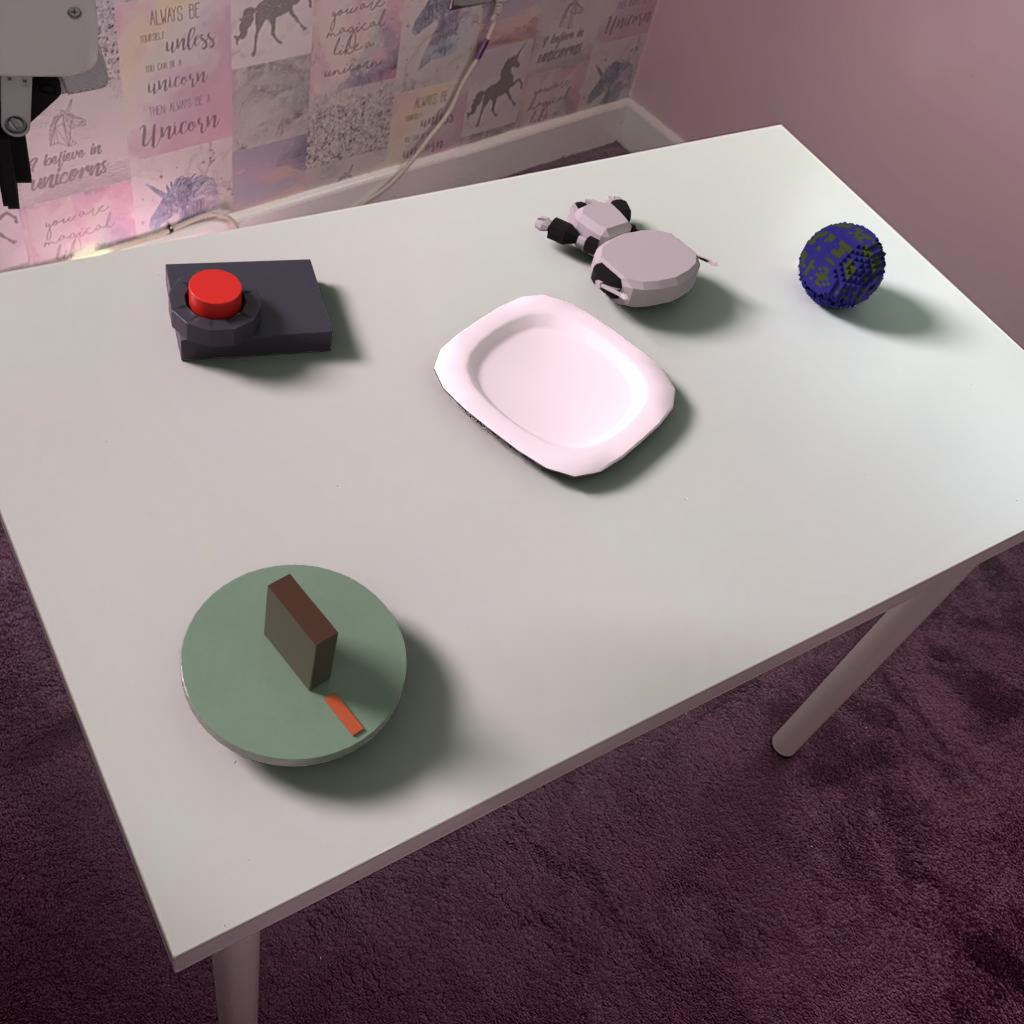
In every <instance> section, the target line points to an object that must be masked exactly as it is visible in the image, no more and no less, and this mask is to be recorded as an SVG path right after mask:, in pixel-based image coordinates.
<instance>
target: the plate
mask: <svg viewBox="0 0 1024 1024" xmlns="http://www.w3.org/2000/svg"><path fill="white" fill-rule="evenodd" d="M437 355H438V356H437V359H436V361H435V364H434V367H433V371H434V373H435V375H436V377H437V379H438V381H439V384H440V386H441V387H442V389H443V391H444V392H445V394H447V395H448V396H449V397H451V399H452V400H453V401H454V402H455V403H456V404H457V405H458V406H460V407H461V409H462V410H464V412H466V413H467V414H468V415H470V416H471V417H472V418H474V419H475V421H477V422H478V423H480V424H481V425H482V426H484V427H485V428H486V429H487V430H489V431H490V432H491V433H492V434H494V435H495V436H496V437H498V438H499V439H500V440H501V441H503V442H504V443H506V444H507V445H508V446H510V447H511V448H512V449H513V450H515V451H516V452H518V453H520V454H521V455H522V456H524V457H526V458H527V459H528V460H530V461H532V462H533V463H535V464H536V465H538V466H540V467H541V468H543V469H544V470H547V471H549V472H550V471H551V472H554V473H557V474H560V475H564V476H566V477H570V478H580V477H585V476H591V475H597V474H600V473H603V471H605V470H607V469H609V468H610V467H611V466H612V467H613V465H615V464H616V463H619V461H621V460H622V459H624V458H625V457H626V456H627V455H629V454H630V453H631V452H632V451H633V450H634V449H635V448H637V447H638V446H639V445H641V443H642V442H643V441H645V440H646V439H647V438H648V437H649V436H650V435H651V434H652V433H653V432H655V430H657V429H658V428H659V427H660V425H662V423H663V421H664V420H665V419H666V418H667V417H668V415H669V414H670V413H671V412H672V411H673V409H674V404H675V396H676V388H675V387H674V384H672V382H671V380H670V378H669V377H668V374H666V372H665V370H664V369H663V368H661V367H660V366H659V365H658V364H657V363H656V362H655V361H654V360H652V358H650V357H649V356H648V355H646V353H644V351H642V350H641V349H640V348H638V347H637V346H636V345H634V344H633V343H631V342H630V341H628V339H626V338H624V337H623V336H622V335H621V334H619V333H618V332H616V331H615V330H614V329H612V328H611V327H609V326H608V325H606V324H605V323H604V322H602V321H601V320H600V319H598V318H597V317H595V316H594V315H592V314H590V313H589V312H587V311H585V310H583V309H581V308H580V307H578V306H576V305H575V304H573V303H571V302H569V301H566V300H564V299H560V298H556V297H553V296H551V295H547V294H535V295H527V296H526V295H525V296H519V297H517V298H516V299H513V300H510V301H509V302H506V303H505V304H502V305H500V306H498V307H496V308H495V309H494V310H492V311H490V312H489V313H487V314H486V315H484V316H482V317H481V318H479V319H478V320H476V321H475V322H473V323H472V324H470V325H468V326H467V327H466V328H464V329H463V330H461V331H460V332H459V333H457V334H456V335H454V337H452V338H451V339H450V340H449V341H448V342H447V343H446V344H445V345H443V347H442V348H440V350H439V353H438V354H437Z"/></svg>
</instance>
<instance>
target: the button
mask: <svg viewBox="0 0 1024 1024" xmlns="http://www.w3.org/2000/svg"><path fill="white" fill-rule="evenodd" d="M189 305H190V307H191V309H192V310H193V311H194V312H195V313H196V314H197V315H199V316H201V317H204V318H207V319H210V320H223V319H229V318H231V317H233V316H235V315H236V314H237V313H238V312H239V311H240V309H241V306H242V285H241V283H240V281H239V280H238V279H237V278H236V277H235V276H234V275H232V274H231V273H229V272H226V271H222V270H216V269H210V270H204V271H201V272H198V273H196V274H195V275H194V276H193V277H192V278H191V279H190V281H189Z"/></svg>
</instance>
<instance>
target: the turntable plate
mask: <svg viewBox="0 0 1024 1024" xmlns="http://www.w3.org/2000/svg"><path fill="white" fill-rule="evenodd" d="M181 645H182V646H181V650H180V678H181V686H182V689H183V694H184V697H185V700H186V702H187V704H188V707H189V709H190V710H191V713H192V714H193V716H194V717H195V719H196V720H197V722H198V723H199V724H200V725H201V727H202V728H203V729H204V730H205V731H206V733H207V734H209V735H210V736H211V737H212V738H213V739H214V740H216V742H218V743H219V744H221V745H222V746H224V747H225V748H226V749H228V750H230V751H232V752H233V753H235V754H238V755H239V756H241V757H243V758H246V759H249V760H252V761H255V762H258V763H263V764H267V765H272V766H279V767H309V766H313V765H319V764H324V763H328V762H331V761H334V760H338V759H340V758H342V757H344V756H346V755H348V754H351V753H352V752H354V751H356V750H357V749H359V748H362V747H363V746H364V745H365V744H367V743H368V742H369V741H370V740H372V739H373V738H374V737H375V736H376V735H377V734H378V733H379V732H380V731H381V730H382V729H383V728H384V727H385V725H386V724H387V723H388V721H389V720H390V719H391V717H392V716H393V714H394V712H395V710H396V709H397V706H398V705H399V701H400V698H401V695H402V694H403V690H404V686H405V682H406V676H407V666H408V659H407V658H408V657H407V648H406V644H405V640H404V635H403V633H402V631H401V629H400V625H399V624H398V622H397V621H396V619H395V616H393V613H392V612H391V611H390V609H389V608H388V606H387V605H386V604H385V603H384V602H383V600H381V598H379V597H378V596H377V595H376V594H375V593H374V592H372V591H371V590H370V589H369V588H368V587H366V586H365V585H363V584H361V583H360V582H358V581H357V580H355V579H354V578H351V577H349V576H347V575H345V574H343V573H341V572H338V571H335V570H331V569H328V568H324V567H319V566H314V565H305V564H282V565H280V564H279V565H273V566H269V567H268V566H267V567H264V568H259V569H256V570H253V571H250V572H247V573H245V574H242V575H239V576H238V577H235V578H234V579H232V580H230V581H229V582H227V583H225V584H223V585H222V586H220V587H219V588H218V589H217V590H216V591H215V592H214V593H212V594H211V595H209V597H208V598H207V599H206V600H205V601H204V602H203V603H202V604H201V606H200V607H199V608H198V609H197V611H196V612H195V614H194V615H193V617H192V619H191V621H190V623H189V624H188V626H187V630H186V632H185V634H184V638H183V641H182V644H181Z"/></svg>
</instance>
